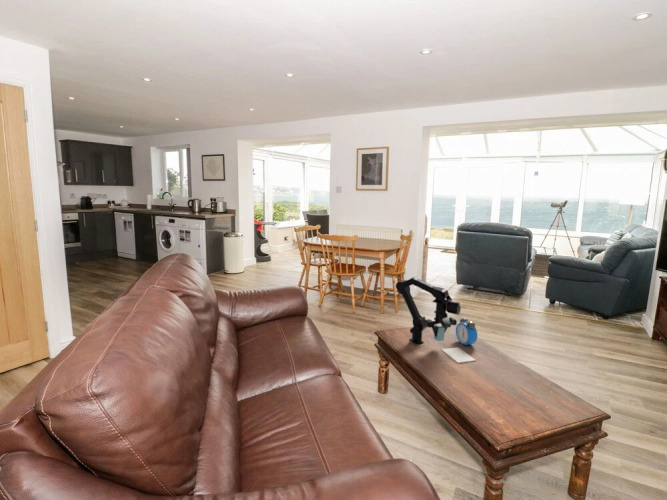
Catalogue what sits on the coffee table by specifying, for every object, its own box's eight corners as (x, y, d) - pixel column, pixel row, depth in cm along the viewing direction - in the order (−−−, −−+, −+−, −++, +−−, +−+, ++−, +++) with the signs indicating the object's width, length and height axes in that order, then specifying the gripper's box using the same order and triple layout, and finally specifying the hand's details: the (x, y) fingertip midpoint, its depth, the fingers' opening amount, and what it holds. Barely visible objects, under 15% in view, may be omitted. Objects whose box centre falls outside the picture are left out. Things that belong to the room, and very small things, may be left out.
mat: (441, 350, 207) (441, 349, 207) (458, 348, 210) (458, 347, 210) (457, 363, 192) (458, 362, 192) (475, 361, 195) (475, 360, 195)
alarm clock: (454, 339, 222) (456, 316, 219) (463, 338, 224) (465, 315, 221) (468, 348, 210) (470, 324, 207) (476, 347, 212) (479, 323, 209)
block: (434, 338, 210) (434, 325, 209) (440, 337, 211) (441, 324, 210) (437, 341, 206) (438, 327, 205) (443, 340, 208) (444, 327, 206)
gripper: (433, 316, 196) (432, 343, 199) (463, 314, 201) (461, 340, 203) (423, 310, 206) (422, 335, 209) (452, 307, 211) (450, 332, 214)
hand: (439, 336), depth 209 cm, fingers closed on block, 4 cm apart
